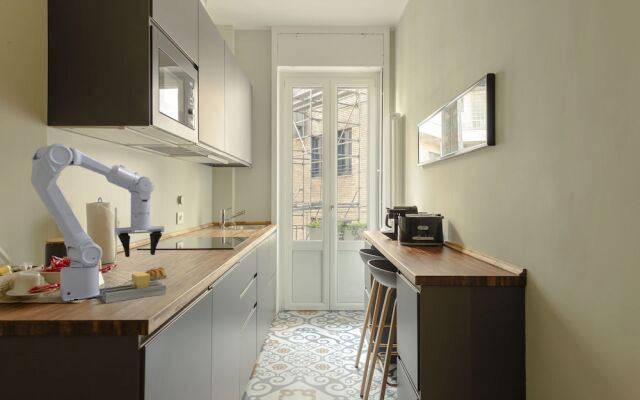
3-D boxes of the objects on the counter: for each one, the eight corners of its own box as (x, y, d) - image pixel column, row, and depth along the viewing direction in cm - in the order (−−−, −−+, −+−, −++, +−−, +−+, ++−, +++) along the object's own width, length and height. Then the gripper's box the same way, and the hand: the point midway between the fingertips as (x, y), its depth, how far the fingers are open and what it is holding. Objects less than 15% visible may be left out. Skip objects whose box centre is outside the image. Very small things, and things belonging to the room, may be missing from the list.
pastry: (144, 283, 128) (144, 272, 128) (133, 281, 132) (133, 270, 132) (168, 278, 135) (169, 268, 135) (158, 276, 139) (158, 266, 139)
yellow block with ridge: (136, 293, 109) (136, 276, 109) (131, 290, 113) (131, 273, 113) (149, 291, 111) (150, 274, 111) (144, 288, 115) (144, 272, 115)
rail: (105, 303, 103) (105, 294, 103) (99, 297, 109) (99, 288, 109) (165, 293, 113) (166, 285, 113) (156, 288, 120) (156, 280, 120)
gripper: (119, 214, 115) (118, 259, 115) (167, 213, 124) (167, 254, 124) (113, 213, 120) (113, 256, 120) (160, 212, 130) (160, 252, 130)
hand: (140, 255), depth 123 cm, fingers open, 7 cm apart
